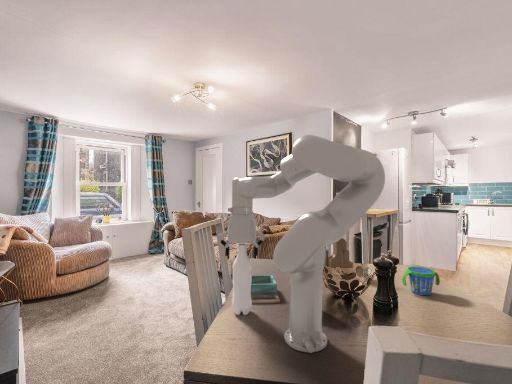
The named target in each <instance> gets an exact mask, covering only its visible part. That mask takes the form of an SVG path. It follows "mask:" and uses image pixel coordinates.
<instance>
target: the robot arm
mask: <svg viewBox="0 0 512 384" xmlns="http://www.w3.org/2000/svg"><path fill="white" fill-rule="evenodd" d="M279 164H280V165H279V167H280V171H279V172H276V174H273V175H271V176H248V177H242V176H241V177H239V176H238V177H234V178H233V179H232V181H231V207H228V208H227V212H229V213H231V214H229V219H228V224H227V230H226V231H224V232H221V233H219V234H218V235H217V238H218V239H219V242H220V244H221V245H223V246H224V248H225V252H224V253H225V257H227V259H226V260H229V259H230V245H232V244H252V245H253V247H252V249H253V253H252V257H253V259H257V256H258V255H259V254H258V253H259V252H258V250H259V248H260V246H261V244H263V243H264V240H265V239H266V235H265V234H264V233H262V232H260V231H258V230H257V228H256V227H257V226H256V225H257V224H256V217H255V215H254V214H253V199H272V198H275V197H277V196H280V195H281V194H284V193H286V192H287V191H290V190H291V189H292V188H293V187H295V185H296V184H297V183H298V182H300V181H302V180H304V179H306V178H308V177H310V176H312V175H314V174H319V175H322V176H325V177H327V178H329V179H333V180H336V181H339V182H343V183H348V184H347V185H346V186H345V187H344V188H343V189H341V190H340V191H339V192H338V193H337V194H336V195H335V196H334V198H332V199H331V201H330V202H329V203H328V204H327V205H326V206H324V208H322V209H320V210H316V211H310V212H306V213H305V214H302V215H301V216H300V217H299V218H298V219H297V220H295V222H294V223H293V224H292V225H291V226H290V228H289V229H288V230H287V231H286V232H285V234H283V236H282V237H281V238H280V239H279V240H278V242H277V243H276V245H275V247H274V250H273V254H272V255H273V256H272V258H273V263H274V265H275V267H276V269H278V271H280V272H282V273H283V274H286V275H290V278H289V279H290V280H289V328H288V329H287V330H286V331H285V332H284V333H283V334H284V335H283V336H284V339H283V340H284V342H285V343H286V344H287V346H289V347H290V348H292V349H293V350H295V351H299V352H303V353H309V354H313V353H316V352H319V351H323V349H326V347H327V346H328V338H327V335H326V334H325V333H324V332H323V326H322V325H323V282H324V281H323V280H324V278H323V277H324V274H323V269H324V263H325V255H326V252H325V249H326V248H325V247H328V246H331V245H333V244H334V243H336V242H338V241H339V240H340V239H341V238H343V237H344V236H345V235H346V234H348V233H347V232H348V231H350V229H351V228H353V227H354V226H355V224H357V223H358V222H359V221H360V220H361V219H362V217H363V216H364V215H365V214H366V213H367V212H368V211H369V210H370V209H371V208H372V207H373V206H374V204H376V202H378V201H377V200H378V199H379V198H380V197H381V194H382V193H383V190H384V188H385V182H386V174H385V173H386V171H385V170H384V165H383V164H382V162H381V160H380V159H379V158H378V156H376V154H374V153H373V152H370V151H368V150H365V149H362V148H358V147H354V146H351V145H347V144H343V143H339V142H336V141H332V140H329V139H327V138H325V137H324V138H323V137H320V136H317V135H314V134H305V135H303V136H300V137H299V138H297V140H296V141H295V142H294V144H293V145H292V149H291V154H288V155H287V156H285V157H284V158H282V159H281V161H280V163H279ZM226 236H227V241H225V240H224V237H226ZM257 236H259V237H260V238H259V239H258V240H257Z"/></svg>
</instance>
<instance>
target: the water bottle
mask: <svg viewBox="0 0 512 384" xmlns="http://www.w3.org/2000/svg"><path fill="white" fill-rule="evenodd" d="M237 244H238V246H237V254H236V257H235V259H234V260H233V263H232V288H233V290H232V291H233V295H232V301H231V308H232V309H233V312H234V313H235V315H237V316H239V315H241V313H242V314H243V316H246V315H248V314H249V313H250V311H251V310H252V305H253V304H252V300H251V283H252V275H253V274H252V270H253V265H252V261H251V260H250V257H249V256H248V253H247V252H248V250H247V249H248V248H247V243H237Z"/></svg>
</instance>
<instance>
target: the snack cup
mask: <svg viewBox="0 0 512 384" xmlns="http://www.w3.org/2000/svg"><path fill="white" fill-rule="evenodd" d="M406 269H407V270H405V271H404V273H403V275H402V281H401V282H402V285H403V286H405V287H407V281H406V278H407V277H408V279H409V280H408V281H409V286H410V290H411V292H412V293H414V294H416V295H418V296H424V295H426V296H431V294H432V291H433V287H434V286H433V285H436V286H440V283H441V280H440V275H439V274H438V272H436V271H435V270H434V269H431V268H429V267H424V266H408V267H407V268H406ZM434 279H435V280H434Z"/></svg>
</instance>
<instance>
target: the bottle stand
mask: <svg viewBox="0 0 512 384" xmlns="http://www.w3.org/2000/svg"><path fill="white" fill-rule="evenodd" d="M251 300H252V305H253V304H255V305H256V304H273V303H275V304H276V303H280V302H281V300H280V297H279V296H278V283H277V282H276V279H275V278H274V276H273V274H252V283H251Z"/></svg>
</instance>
